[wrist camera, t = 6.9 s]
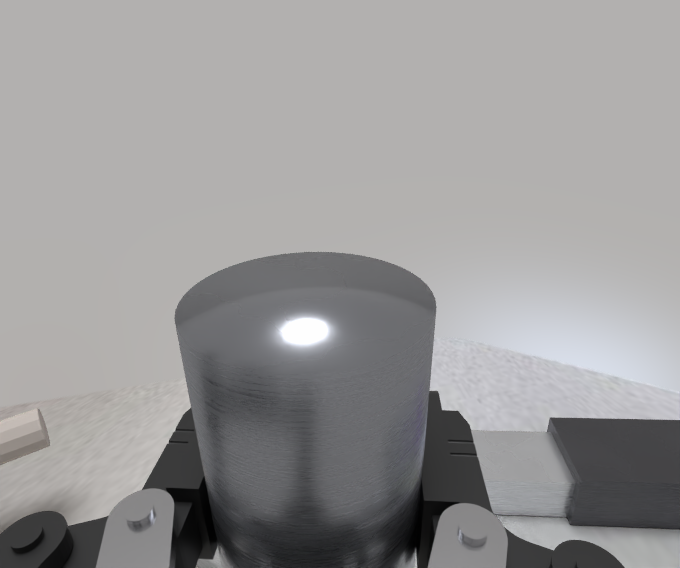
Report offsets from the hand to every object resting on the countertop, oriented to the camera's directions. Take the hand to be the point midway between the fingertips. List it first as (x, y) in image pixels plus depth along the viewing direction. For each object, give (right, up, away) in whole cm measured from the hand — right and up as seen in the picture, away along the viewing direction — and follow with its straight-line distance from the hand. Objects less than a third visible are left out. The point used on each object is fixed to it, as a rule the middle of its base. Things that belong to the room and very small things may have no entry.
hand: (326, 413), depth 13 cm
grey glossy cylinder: (0, -7, 0) cm, 7 cm away
